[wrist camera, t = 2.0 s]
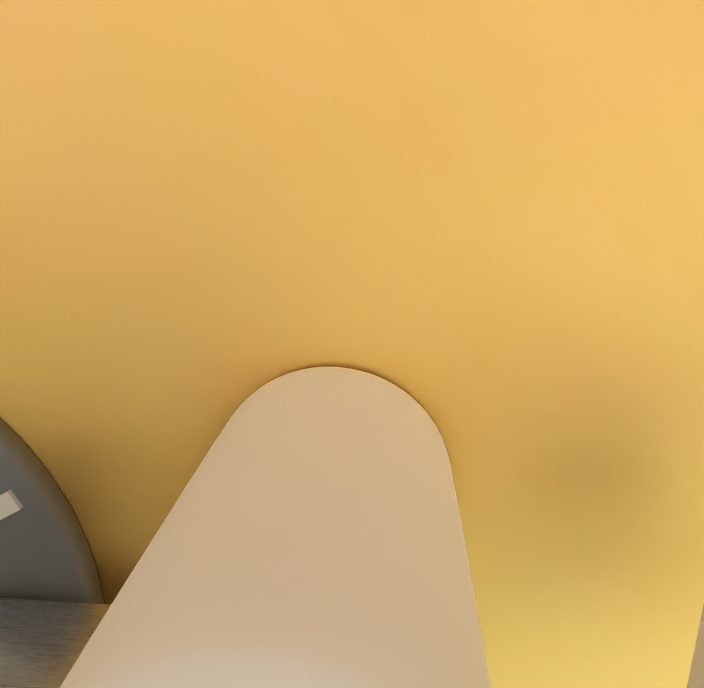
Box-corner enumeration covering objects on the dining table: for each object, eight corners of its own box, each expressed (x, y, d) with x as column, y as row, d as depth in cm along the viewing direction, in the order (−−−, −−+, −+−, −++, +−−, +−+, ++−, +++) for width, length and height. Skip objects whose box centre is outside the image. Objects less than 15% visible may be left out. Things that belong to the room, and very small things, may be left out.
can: (201, 370, 17) (-172, 783, 6) (442, 350, 17) (542, 769, 5) (238, 576, 19) (3, 1200, 8) (457, 564, 19) (555, 1223, 7)
